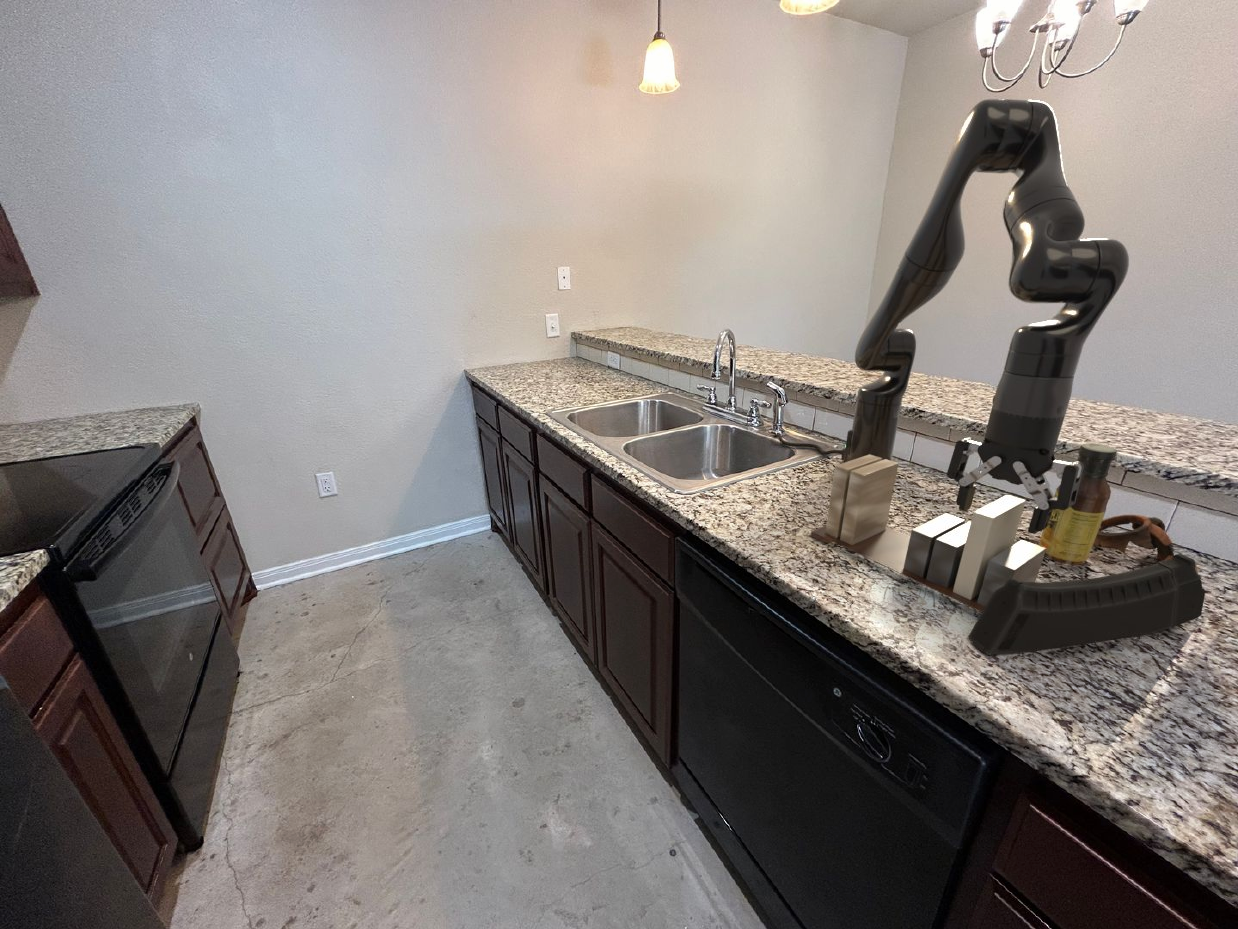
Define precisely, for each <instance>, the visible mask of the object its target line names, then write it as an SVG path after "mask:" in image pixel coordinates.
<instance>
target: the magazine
mask: <svg viewBox="0 0 1238 929" xmlns="http://www.w3.org/2000/svg"><path fill="white" fill-rule="evenodd" d="M1205 596H1206V590H1205V588H1204V587H1203V582H1202V576H1201V575H1200V574H1199V569H1198V565H1197V563H1196V561H1195V559H1194V558H1191V557H1189V556H1187V555H1184V554H1182V553H1176V554H1174V555H1173V557H1172V558H1171V559H1169V560H1166V561H1163V560H1161V561H1157V562H1155V563H1154V564H1151V565H1146V566H1145V567H1144V566H1143V567H1141V568H1135V569H1133V570H1129V571H1125V572H1121V573H1114V574H1110V575H1106V576H1105V575H1104V576H1100V577H1093V578H1092V577H1091V578H1085V579H1083V578H1082V579H1071V580H1060V581H1050V582H1047V581H1045V582H1037V581H1036V582H1024V581H1019V580H1016V579H1008V580H1007V582H1006V584H1005V585H1004V586H1003V587H1001V588H999V589H997V590H996V591H995V592H994V593H993V594H992V596H991V598H990V600H989V601H988V603H987V605H986V607H985V608H984V610H983V612H981V613H980V615H979V617H978V619H977V620H976V622H975V623H974V626H973V627H972V629H971V631H970V632H969V634H968V639H967V640H969V641H970V642H971V644H972V645H973V646H974V647H975V648H977V649H978V650H979V651H980V652H981V653H985V654H986V655H987V656H994V655H1014V654H1027V653H1033V652H1041V651H1047V650H1055V649H1061V648H1068V647H1069V648H1070V647H1076V646H1082V645H1089V644H1097V643H1104V642H1110V641H1117V640H1124V639H1130V638H1138V637H1144V636H1149V635H1151V634H1155V633H1158V632H1162V631H1164V630H1168V629H1171V628H1175V627H1177V626H1181V625H1183V624H1185V623H1188V622H1191V621H1194V620H1197V619H1198V618H1200V617H1201V616H1202V611H1203V608H1204V602H1205Z"/></svg>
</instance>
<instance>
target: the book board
mask: <svg viewBox="0 0 1238 929" xmlns="http://www.w3.org/2000/svg"><path fill="white" fill-rule="evenodd" d="M898 469H899V462H896V461H894V460H891V461H890V460H887V459H885V460H882V458H880V457H876V456H873V455H867V456H864V457H860V458H857V459H854V460H851V461H848V462H845V463H843V462H842V463H839V464H837V465H834V470H833V475H832V476H833V477H832V483H831V485H832V486H831V491H830V498H829V504H828V512H827V518H826V525H824V526H821V527H819V528H817V529H814V530H812V531H811V532H810V537H811V538H814V539H816V540H817V541H820V542H821V543H824V544H827V545H829V544H832V543H835V544H837V545H839V546H841V547H843V548H845V549H847V550H850V551H851V552H854V553H855V554H858V555H860V556H862V557H863V558H866V559H868V560H870V561H872V562H875V563H877V564H879V565H881V566H883V567H885V568H888V569H890V570H892V571H894V572H896V573H898V574H900V575H902V576H905V577H907V578H908V579H911V580H913V581H915V582H917V583H919V584H921V585H924V586H926V587H928V588H930V589H932V590H933V591H937V592H938V593H941V594H943V595H944V596H947V597H949V598H951V599H953V600H955V601H958V602H960V603H961V604H963V605H966V606H968V607H971V608H973V609H975V610H977V611H979V612H981V613H982V612H983V610H984V608H985V607H986V605H987V603H988V601H989V600H990V598H991V596H992V594H993V593H994V592H995V591H996V590H997V589H999V588H1001V587H1003V586H1004V585H1005V584H1006V582H1007V580H1008V579H1016V580H1019V581H1024V582H1037V578H1038V576H1039V572H1040V569H1041V566H1042V563H1043V560H1044V557H1045V556H1044V554H1045V551H1046V548H1044V547H1041V546H1039V544H1035V543H1033V542H1030V541H1026V540H1023V539H1021V540H1019V541H1017V542H1016V543H1013V545H1012V546H1011V547H1009V548H1008V549H1006V550H1005V551H1003V552H1001V553H1000V554H998V555H997V556H995V557H994V558H992V559H990V560H989V563H988V566H987V570H986V573H985V577H984V580H983V584H982V587H981V591H980V594H978V595H977V596H976V597H974V598H973V599H971V600H969V599H967V598H965V597H963V596H961V595H959V594H956V593H954V592H953V589H954V585H955V581H956V577H957V574H958V570H959V566H960V562H961V558H962V554H963V551H964V547H965V543H966V539H967V535H968V531H969V528H970V524H971V521H967V522H966V520H965V519H964V518H960V517H957V516H954V515H953V514H949V513H943V514H941V515H939V516H936V517H935V518H933V519H931V520H929V521H926V522H925V523H923V524H921V525H918V526H916V527H915V528H913V529H911V531H910V535H909V534H908V533H904V532H902V531H899V530H897V529H894V528H892V527H889V526H888V520H889V516H890V510H891V504H892V499H893V495H894V490H895V484H896V479H897V474H898Z"/></svg>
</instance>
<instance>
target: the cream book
mask: <svg viewBox="0 0 1238 929" xmlns="http://www.w3.org/2000/svg"><path fill="white" fill-rule="evenodd" d="M1026 503H1027V502H1026V499H1023V498H1019V497H1016V496H1013V495H1010V494H1005V495H1003V496H1002V497H999V498H998V499H996V500H994V501H992V502H990V503H988V504H986V505H984V506H982V507H980V508H978V509H976V510H974V511H973V513H972V516H971V520H970V522H971V524H970V528H969V531H968V535H967V539H966V543H965V547H964V551H963V554H962V558H961V562H960V566H959V570H958V574H957V577H956V581H955V585H954V589H953V592H954V593H956V594H959V595H961V596H963V597H965V598H967V599H969V600H971V599H973V598H974V597H976V596H977V595H978V594H980V591H981V587H982V584H983V580H984V577H985V573H986V570H987V566H988V563H989V560H990V559H992V558H994V557H995V556H997V555H998V554H1000V553H1001V552H1003V551H1005V550H1006V549H1008V548H1009V547H1011V546H1012V545H1014V542H1015V538H1016V535H1017V533H1018V529H1019V525H1020V521H1021V518H1022V515H1023V513H1024V508H1025V505H1026Z"/></svg>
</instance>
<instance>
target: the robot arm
mask: <svg viewBox="0 0 1238 929" xmlns="http://www.w3.org/2000/svg"><path fill="white" fill-rule="evenodd" d="M958 130H959V131H958V133H957V134H956V137H955V139H954V142H953V143H952V146H951V149H950V151H949V154H948V156H947V159H946V161H945V164H944V167H943V169H942V171H941V174H940V177H939V179H938V182H937V184H936V186H935V189H934V191H933V193H932V196H931V198H930V201H929V203H928V205H927V207H926V209H925V211H924V214H923V216H922V218H921V220H920V222H919V224H918V225H917V228H916V229H915V231H914V234H913V235H912V237H911V239H910V241H909V243H908V245H907V247H906V248H905V251H904V253H903V255H902V257H901V259H900V261H899V264H898V265H897V268H896V270H895V272H894V275H893V276H892V279H891V281H890V283H889V286H888V288H887V290H886V291H885V293H884V296H883V298H882V299H881V301H880V303H879V304H878V306H877V309H876V310H875V311H874V313H873V315H872V317H871V318H870V319H869V321H868V323H867V324H866V326H865V328H864V329H863V331H862V333H861V334H860V336H859V339H858V340H857V344H856V347H855V351H854V362H855V365H856V367H857V368H858V369H859V370H861V371H865V372H871V373H872V372H873V373H875V372H883V373H882V375H881V376H880V377H878V378H877V379H875V380H873V381H871V382H869V383H867V384H863V385H861V386H860V387H859V388H858V390H857V395H856V401H855V407H854V415H853V419H852V420H853V421H852V428H851V429H849V430H848V431H847V433H846V434H847V435H846V440H845V446H844V448H842V449H830V450H824V449H823V447H822V446H820V445H818V444H815V443H809V442H807V443H806V442H801V443H800V442H789V441H785V440H784V439H783V436H782V433H781V432H779V433H778V432H776V433H777V435H776V433H774V434H773V437H774V438H778V440H779V442H780V443H781V444H782V445H784V446H786V447H787V446H788V447H795V448H796V447H797V448H813V449H816V450H818V452H819V453H821V454H822V455H824V456H829V455H831V454H835V455H836V454H838V455H841V456H840V460H841V461H842V463H845V462H848V461H851V460H854V459H857V458H860V457H864V456H867V455H873V456H876V457H880V458H882V460H885V459H887V460H890V461H892V457H893V452H894V446H895V441H896V436H897V430H898V425H899V420H900V414H901V409H902V403H903V399H904V396H905V394H906V392H907V389H908V385H909V381H910V377H911V372H912V370H913V366H914V361H915V357H916V352H917V338H916V335H915V333H914V332H913V330H911V329H909V328H901V327H899V326H900V325H901V323H903V321H905V320H906V319H907V318H908V317H909V316H911V315H912V314H913V313H915V312H916V311H918V310H919V309H921V308H922V307H923V306H925V305H926V304H928V303H929V302H930V301H931V300H933V299H934V298H935V297H937V295H939V294H941V292H942V291H943V290H944V288H946V286H948V283H949V282H950V280H951V278H952V277H953V275H954V274H955V272H956V270H957V268H958V266H959V265H960V263H961V261H962V260H963V257H964V254H965V249H966V235H965V228H964V222H963V217H962V216H963V215H962V200H963V199H962V198H963V196H964V192H965V188H966V187H967V184H968V181H969V180H970V178H971V176H972V175H973V174H974V173H984V174H1009V173H1010V174H1013V175H1015V176H1016V177H1017V178H1018V179H1017V180H1016V181H1015V183H1014V184H1013V186H1012V187H1011V188H1010V190H1009V191H1008V193H1007V195H1006V196H1005V199H1004V202H1003V205H1002V219H1003V224H1004V227H1005V229H1006V232H1007V235H1008V237H1009V240H1010V242H1011V263H1010V269H1009V275H1008V289H1009V292H1010V293H1011V294H1012V296H1013V297H1014V298H1015V299H1017V300H1018V301H1019V302H1023V303H1025V304H1026V303H1027V304H1063V306H1062V307H1061V308H1060V309H1059V311H1058V312H1057V313H1056V314H1055V315H1054V316H1053V317H1052V318H1050V319H1047V320H1044V321H1040V322H1033V323H1028V324H1025V325H1022V326H1020V327H1018V328H1016V329H1015V331H1014V332H1013V334H1012V337H1011V340H1010V343H1009V347H1008V351H1007V355H1006V359H1005V363H1004V367H1003V372H1002V374H1001V377H1000V379H999V381H998V384H997V387H996V389H995V394H994V395H993V398H992V402H991V403H992V405H991V408H990V413H989V418H988V422H987V425H986V429H985V433H984V439H983V441H982V442H978V441H974V439H973V438H972V437H969V436H968V437H964V438H961V439H959V440H957V441H956V442H955V445H954V449H953V452H952V455H951V459H950V462H949V465H948V468H947V472H946V477H947V478H948V479H950V480H952V479H953V480H955V481H956V482H957V483H958V484H959V487H958V491H957V496H956V500H955V502H956V506H958V510H960V511H961V512H967V511H969V510H970V509H971V507H972V505H973V501H974V498H975V493H976V489H977V484H975V483H976V482H977V481H979V480H980V479H982V478H983V477H985V476H988V475H989V476H991V478H992V479H994V480H998V481H1006V482H1008V483H1010V484H1013V485H1017V486H1020V485H1023V486H1024V488H1025V490H1026V491H1027V493H1028V494H1029V495H1030V496H1031V497H1032V498H1033V501H1034V502H1035V504H1036V506H1035V507H1034V508H1033V512H1032V516H1031V519H1030V521H1029V526H1028V528H1027V533H1030V534H1033V535H1036V534H1038V533H1039V532H1040V533H1041V532H1043V530H1044V529H1045V528H1046V527H1047V526H1048V523H1049V520H1050V517H1051V514H1052V511H1053V509H1059V510H1066V509H1068V508H1069V507H1071V506H1072V505H1074V504H1075V502H1076V497H1077V493H1078V489H1079V485H1080V481H1081V477H1082V473H1083V469H1084V464H1083V463H1082V462H1079V461H1077V460H1075V461H1073V462H1069V461H1064V460H1063V461H1062V460H1058V459H1056V457H1055V451H1056V447H1057V444H1058V441H1059V438H1060V434H1061V431H1062V427H1063V424H1064V420H1065V417H1066V413H1067V410H1068V408H1069V404H1070V401H1071V397H1072V394H1073V385H1074V380H1075V379H1074V378H1075V375H1076V371H1077V368H1078V366H1079V362H1080V359H1081V355H1082V351H1083V349H1084V345H1085V343H1086V341H1087V339H1089V338H1088V337H1089V336H1090V335H1091V333H1092V331H1093V330H1094V328H1095V326H1096V325H1097V323H1098V322H1099V320H1100V319H1101V317H1102V316H1103V315H1104V312H1105V311H1106V309H1107V308H1108V306H1110V303H1111V302H1112V301H1113V299H1114V298H1115V296H1116V295H1117V293H1118V292H1119V290H1120V288H1121V287H1122V285H1123V284H1124V282H1125V279H1126V277H1127V275H1128V271H1129V267H1130V256H1129V252H1128V249H1127V248H1126V246H1125V245H1124V244H1123V242H1121V241H1119V240H1117V239H1113V238H1087V239H1085V238H1083V239H1080V238H1081V236H1082V234H1083V232H1084V230H1085V226H1086V221H1085V220H1086V219H1085V216H1084V213H1083V210H1082V208H1081V207H1080V205H1079V203H1078V201H1077V199H1076V197H1075V195H1074V193H1073V191H1072V190H1071V187H1070V186H1069V184H1068V182H1067V179H1066V176H1065V173H1064V166H1063V161H1062V160H1063V159H1062V151H1061V150H1062V149H1061V144H1060V137H1059V131H1058V124H1057V118H1056V116H1055V113H1054V110H1053V108H1052V107H1051V106H1050V105H1049V104H1048V103H1046V102H1044V101H1040V100H1032V99H1007V98H1006V99H1004V98H988V99H983V100H980V101H979V102H977V103H976V104H975V105H974V106H973V107H972V108H971V110H970V111H969V112H968V114H967V115H966V117H965V119H964V120H963V122H962V124H961V125H960V128H959V129H958ZM898 327H899V328H898ZM976 451H977V454H978V456H979V458H980V461H981V463H982V464H980V465H978V466H977V467H976V468H974V469H973V470H971V471H970V472H969V473H968V472H966V471H965V470H966V468H967V467H966V466H967V464H968V461H969V457H970V456H972V455H974V454H975V452H976ZM1051 470H1054V471H1055V473H1056V477H1057V478H1058V479H1060V484H1059V486H1060V488H1059V493H1058V497H1054V495H1055V494H1054V493H1053V492H1052V490H1051V485H1050V482H1049V481H1048V479H1047V477H1046V475H1045V473H1047V472H1049V471H1051Z"/></svg>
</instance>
